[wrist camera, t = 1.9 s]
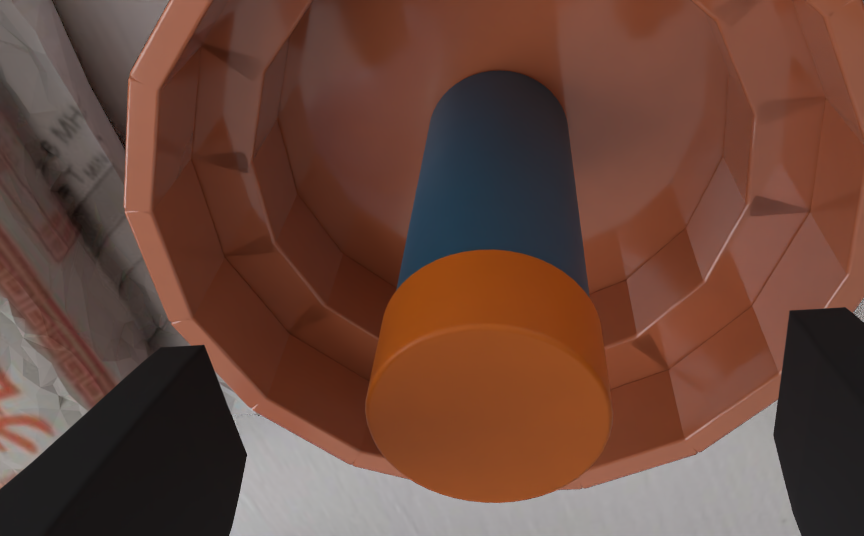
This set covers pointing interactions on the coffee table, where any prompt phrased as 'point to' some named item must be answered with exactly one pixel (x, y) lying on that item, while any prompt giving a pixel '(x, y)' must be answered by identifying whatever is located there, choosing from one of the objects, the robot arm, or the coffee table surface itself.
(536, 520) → the coffee table surface
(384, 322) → the glue stick
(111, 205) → the packaged product
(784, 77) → the bowl
